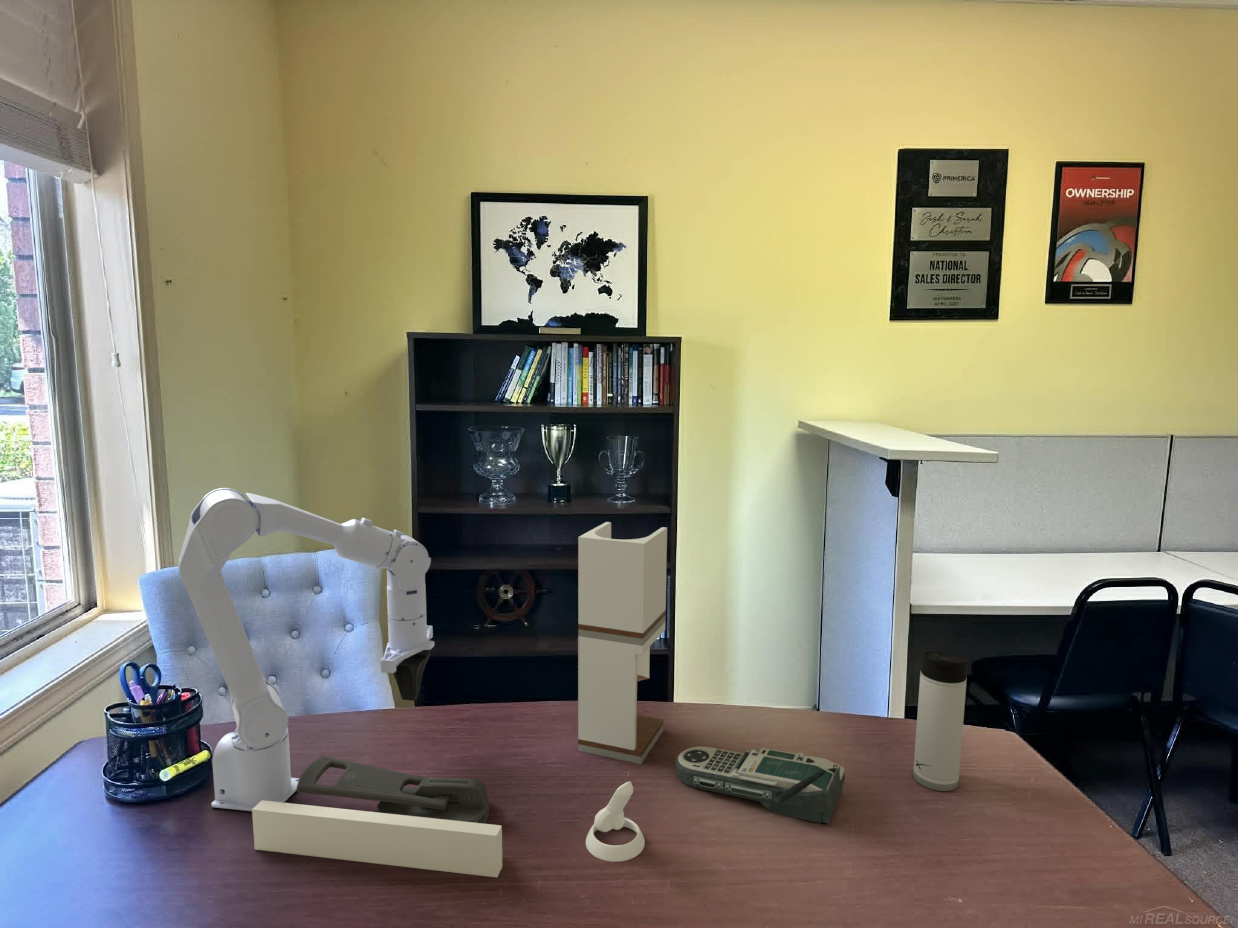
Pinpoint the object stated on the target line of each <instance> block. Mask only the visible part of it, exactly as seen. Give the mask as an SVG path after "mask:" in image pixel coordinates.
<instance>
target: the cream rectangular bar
mask: <svg viewBox="0 0 1238 928" xmlns="http://www.w3.org/2000/svg"><path fill="white" fill-rule="evenodd" d="M251 815H252V816H251V817H252V828H253V829H252V830H253V832H252V833H253V843H254V845H253V846H254V850H256V851H264V852H275V853H281V854H291V855H300V856H309V857H317V858H325V859H326V858H327V859H335V860H343V861H344V860H345V861H351V862H360V863H368V864H378V865H386V866H395V867H401V868H402V867H403V868H413V869H418V870H419V869H420V870H421V869H422V870H428V871H429V870H430V871H437V872H438V871H440V872H447V873H448V872H449V873H455V874H463V875H464V874H465V875H473V876H481V877H489V878H498V877H499V875H500V873H501V870H502V868H503V826H502V825H499V824H493V823H492V824H491V823H490V824H489V823H485V824H482V823H473V822H463V821H454V820H444V819H435V818H425V817H416V816H406V815H397V814H387V813H378V812H376V811H375V812H374V811H367V810H357V809H348V808H347V809H346V808H338V807H328V806H320V805H319V806H318V805H310V804H299V803H291V802H290V803H289V802H284V803H282V802H273V801H263V800H262V801H261V802H259V803H258V804H257V805H256V806H255V807H254V808H253V809H252V811H251Z"/></svg>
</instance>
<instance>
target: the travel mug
mask: <svg viewBox="0 0 1238 928" xmlns="http://www.w3.org/2000/svg"><path fill="white" fill-rule="evenodd" d="M968 665H969V664H968V659H967V658H966V657H965V656H963V655H960V654H957V653H952V652H951V653H944V652H938V651H937V650H926V651H923V652H922V654H921V667H920V671H919V672H920V673H919V685H918V686H919V689H918V701H917V702H918V703H917V716H916V717H917V718H916V729H915V744H914V745H915V746H914V759H913V761H914V762H913V772H912V773H913V778H914V780H915V781H916V782H917V783H918V784H920V785H921V786H923V787H925V788H927V789H929V790H933V791H937V792H938V791H939V792H951V791H953V790H955V789H957V788H958V787H959V783H960V782H959V781H960V769H961V768H960V767H961V756H962V743H963V729H964V719H965V704H966V693H967V680H968V679H967V678H968V677H967V673H968Z"/></svg>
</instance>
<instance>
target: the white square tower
mask: <svg viewBox="0 0 1238 928" xmlns="http://www.w3.org/2000/svg"><path fill="white" fill-rule="evenodd" d="M577 538H578V539H577V541H578V545H577V547H578V548H577V549H578V551H577V552H578V553H577V556H578V560H577V561H578V562H577V563H578V564H577V565H578V567H577V568H578V569H577V570H578V573H577V577H578V579H577V580H578V581H577V582H578V584H577V585H578V587H577V591H578V592H577V593H578V595H577V596H578V597H577V599H578V600H577V601H578V602H577V603H578V607H577V608H578V613H577V615H578V620H577V622H578V624H577V627H578V628H577V629H578V631H577V632H578V633H577V635H578V638H577V641H578V642H577V643H578V646H577V648H578V649H577V651H578V652H577V654H578V656H577V658H578V661H577V663H578V665H577V667H578V670H577V673H578V675H577V677H578V678H577V679H578V680H577V682H578V683H577V684H578V687H577V689H578V692H577V693H578V694H577V695H578V697H577V701H578V703H577V706H578V707H577V711H578V713H577V714H578V715H577V721H578V723H577V727H578V729H577V732H578V733H577V736H578V737H577V742H578V743H577V748H578V749H577V751H578V752H580V753H581V752H582V753H586V754H590V755H591V754H592V755H594V756H595V755H596V756H601V757H606V758H609V759H613V760H614V759H615V760H620V761H625V762H629V763H633V764H639V765H642V764H643V762H644V760H645V759H646V758H647V756H648V754H649V753H650V752H651V750H652V748H653V747H654V746H655V744H656V742H657V741H658V739H659V738H660V736H661V735H662V733H664V723H665V722H664V721H665V720H664V718H660V717H655V716H649V715H644V714H639V713H638V712H637V707H638V706H637V705H638V704H637V703H638V701H637V700H638V696H637V695H638V682H641V681H643V680H648V679H650V657H651V656H650V653H651V652H650V651H651V650H650V648H651V646H652V645H653V644H654V643H655V642H656V640H658V638H659V637H660V636H661V635H662V633H664V631H666V612H667V611H666V609H667V607H666V606H667V554H668V553H667V550H668V527H667V526H666V527H664V526H663V527H660V528H659V529H657V530H656V531H654V532H652V533H651V534H650V535H648V536H645V537H640V538H632V539H620V538H619V539H616V538H612V522H610V521H605V522H604V523H603V522H602V524H600V525H598V526H596V527H594V528H593V529H591V530H589V531H587V532H585V533H583V534H581V535H580V536H578V537H577Z"/></svg>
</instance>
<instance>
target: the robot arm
mask: <svg viewBox="0 0 1238 928" xmlns="http://www.w3.org/2000/svg"><path fill="white" fill-rule="evenodd" d="M245 494H246V496H247V497H248V499H247V498H246V496H245V495H244V494H243V493H242V492H240V491H239V490H237V489H233V488H230V487H221V488H219V487H218V488H217V489H213V490H211V491H210V492H208V493H207V494H205V495H204V496H203V497H202V499H201V500H200V502H199V503H198V504H197V505H196V506H195V507H194V509H193V510H192V511H191V513H190V516H189V520H188V521H189V523H188V526H187V530H186V532H185V533H186V534H185V537H184V540H183V543H182V547H181V551H180V554H179V556H178V560H177V565H178V566H177V567H178V569H179V574H180V577H181V580H182V581H183V582H182V583H183V584H184V587H185V589H186V591H187V593H188V596H189V598H190V601H191V603H192V606H193V608H194V611H195V613H196V615H197V618H198V619H199V621H200V625H201V627H202V629H203V631H204V634H205V636H206V638H207V639H206V640H207V641H208V642H209V643H208V644H209V645H210V648H211V650H212V653H213V655H214V657H215V659H216V662H217V664H218V665H217V666H218V667H219V669H220V672H221V674H222V676H223V678H224V681H225V683H226V686H227V687H228V688H227V689H228V691H229V693H230V697H231V700H230V710H231V714H232V715H233V716H234V717H233V718H234V720H235V723H236V728H235V729H234V732H228V733H226V734H224V736H222V738H221V739H220V740H219V741H218V742H217V744H216V747H215V748H214V751H213V755H212V756H213V757H212V773H213V774H212V775H213V787H214V788H213V789H214V800H213V801H212V802H211V803H210V804H211V807H212V808H219V809H227V810H236V811H237V810H238V811H247V812H252V809H253V808H254V807H255V806H256V805H257V804H258V803H259V802H261V801H262V800H263V801H273V802H282V803H286V801H287V800H288V799H289V798H290V797H291V796H293V795H294V794H295V792H297V791H296V790H297V784H298V781H299V778H300V777H299V778H297V777H292V775H291V774H292V773H291V772H292V771H291V758H290V757H291V753H290V739H289V738H290V737H289V728H288V727H289V726H288V725H289V716H288V713H287V711H286V709H285V708H284V706H283V704H282V701H281V700H280V697H279V696H280V695H279V691H278V690H277V688H276V686H275V685H274V684H273V683H271V682H269V681H268V679H266V678H265V676H264V675H263V672H262V670H261V667H260V665H259V663H258V659H257V658H256V657H257V656H256V654H255V653H254V650H253V648H252V645H251V642H250V641H249V637H248V635H247V632H246V631H245V628H244V626H243V623H242V620H241V618H240V615H239V613H238V611H237V608H236V606H235V603H234V601H233V598H232V595H231V593H230V591H229V589H228V586H227V583H226V581H225V578H224V576H223V574H222V570H223V568H224V566H225V565H226V563H227V562H228V560H229V559H230V557H231V555H232V554H233V553H234V552H235V551H236V550H237V549H239V548H240V547H241V546H243V545H244V544H246V543H247V541H249V540H250V539H251V538H252V537H253V535H254V534H255V532H256V533H257V535H258V536H259V538H260V537H261V538H262V537H264V536H267V535H271V534H274V533H277V532H285V533H289V534H292V535H296V536H299V537H304V538H307V539H310V540H314V541H317V542H321V543H325V544H329V545H333V547H334V549H335V552H336V553H337V556H339V557H340V558H343V559H347V560H350V561H353V562H357V563H360V564H363V565H366V566H370V567H372V568H376V569H379V570H383V569H387V570H386V604H387V608H386V609H387V627H388V631H387V632H388V633H387V635H388V642H387V643H386V648H385V651H384V654H383V657H381V659H380V673H384V674H385V673H386V674H392V675H393V677H394V680H395V682H396V685H397V687H398V690H399V694H400V698H401V700H403V701H414V702H415V701H416V699H417V698H418V697H419V694H420V688H421V684H422V679H423V675H424V671H425V668H426V665H427V662H428V660H429V659H430V656H431V650H432V649H433V648H434V647H435V641H433V640H431V639H432V638H433V637H434V636H433V635H434V633H433V631H434V629H433V625H428V624H427V596H426V595H427V592H426V591H427V590H426V588H427V587H426V573H427V572H428V571H429V569H430V566H431V562H432V558H431V557H430V556H429V552H428V550H427V548H426V547H425V546H424V544H422V543H420V542H419V541H417V540H415V539H414V538H413V537H411V536H409V535H407V534H406V533H404V532H401V531H400V530H397V529H393V531H391V530H388V529H384V528H381V527H379V526H376V525H373V521H372V520H371V519H368V518H365V517H362V518H361V519H360V520H358V519H356V518H355V519H354V518H352V519H349V520H348V521H345V522H342V523H339V522H336V521H334V520H331V519H328V518H325V517H323V516H321V515H317V514H315V513H312V512H309V511H307V510H304V509H301V508H299V507H296V506H293V505H291V504H287V503H286V502H282V501H279V500H277V499H274V498H269V497H268V496H267V497H266V496H264V495H263V496H262V495H259V494H256V493H255V494H254V493H250V492H245Z"/></svg>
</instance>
